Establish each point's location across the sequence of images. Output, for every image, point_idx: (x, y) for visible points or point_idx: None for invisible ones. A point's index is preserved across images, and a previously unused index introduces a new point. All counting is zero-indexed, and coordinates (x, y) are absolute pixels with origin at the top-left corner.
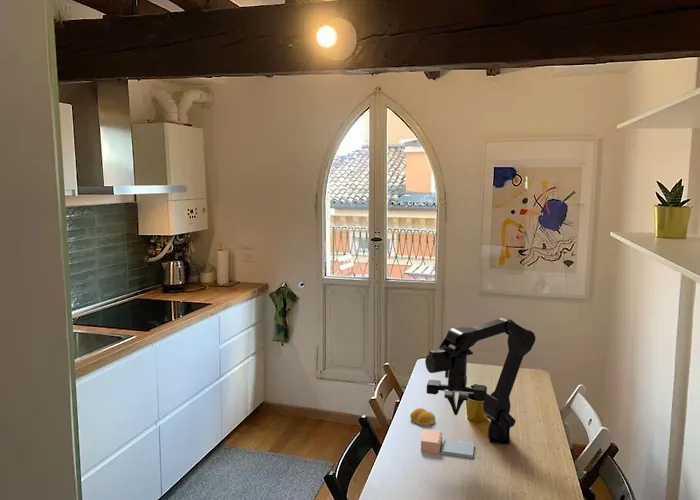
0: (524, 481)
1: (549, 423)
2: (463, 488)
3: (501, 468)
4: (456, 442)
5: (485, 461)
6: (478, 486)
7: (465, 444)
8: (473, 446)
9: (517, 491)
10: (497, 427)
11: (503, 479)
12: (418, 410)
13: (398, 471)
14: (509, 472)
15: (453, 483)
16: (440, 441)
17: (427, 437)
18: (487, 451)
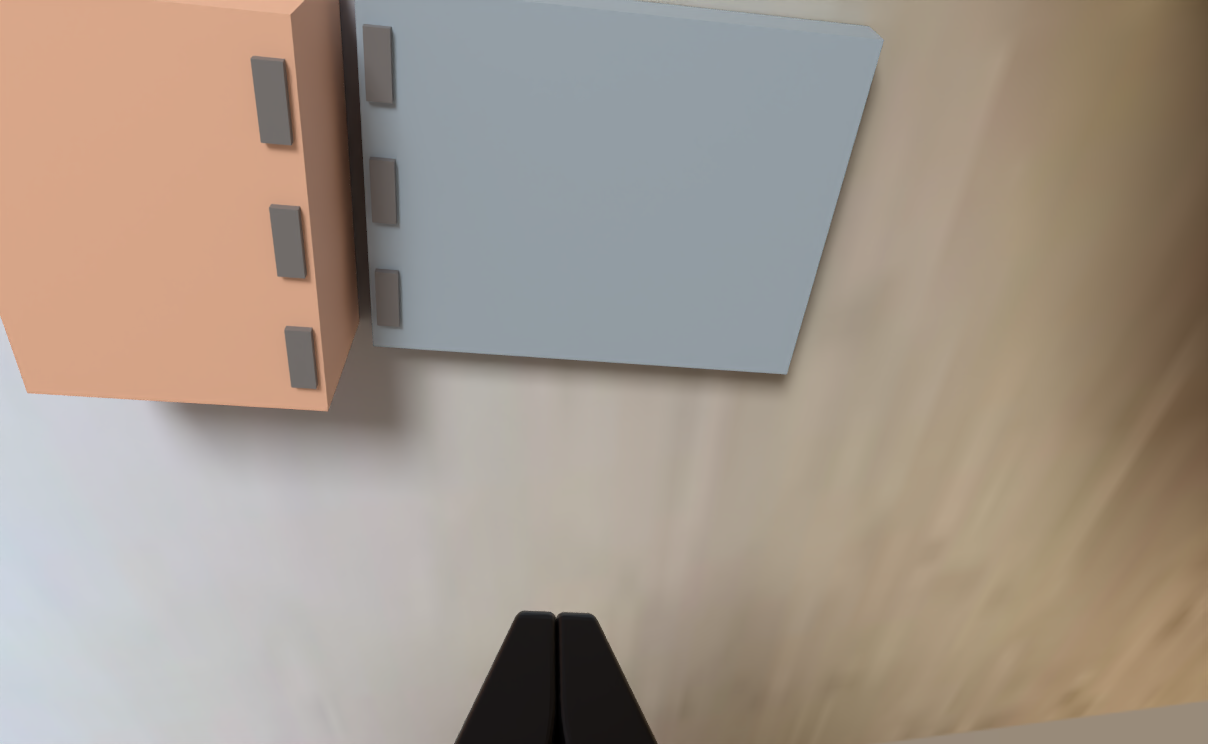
0: (1164, 602)
1: None
2: None
3: (1045, 471)
4: (583, 71)
5: (915, 383)
6: (748, 702)
7: (727, 112)
8: (845, 148)
9: (1035, 702)
10: None
11: (988, 607)
12: None
13: (48, 657)
14: (1095, 515)
15: None
16: (325, 304)
17: (83, 282)
18: (1026, 152)
